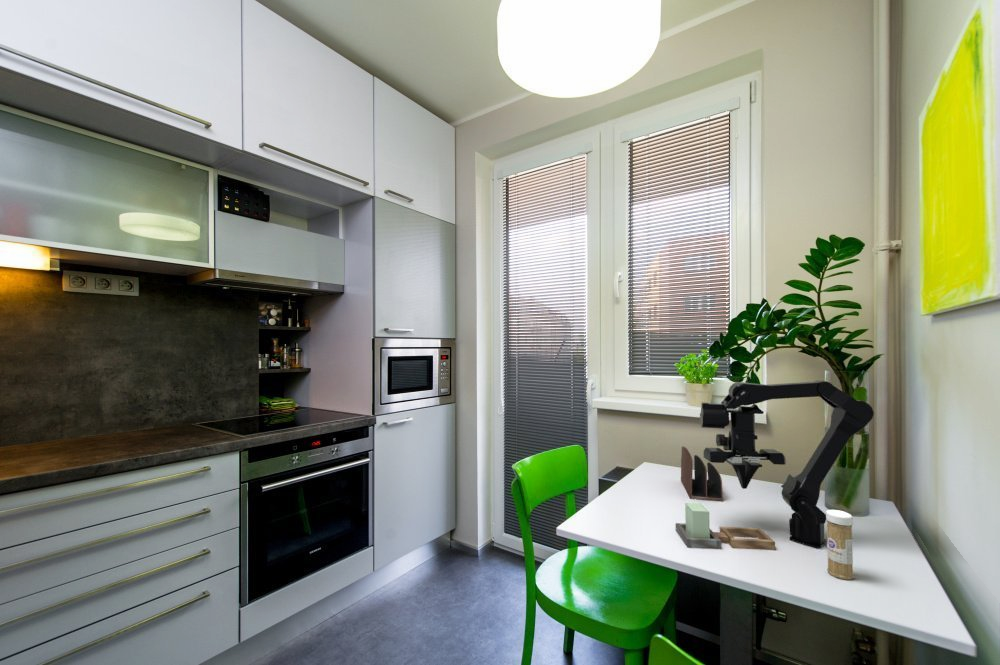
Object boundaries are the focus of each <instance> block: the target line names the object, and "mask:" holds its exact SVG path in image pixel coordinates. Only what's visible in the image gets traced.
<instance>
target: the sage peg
mask: <svg viewBox="0 0 1000 665" xmlns="http://www.w3.org/2000/svg"><path fill="white" fill-rule="evenodd" d="M684 503H685V510H684V511H685V514H684V515H685V516H684V517H685V518H684V519H685V524H686V533H687V534H688V536H689V537H690V538H706V539H710V529H711V526H710V520H711V519H710V510H708V509H707V507H705V505H703V504H702V502H684Z"/></svg>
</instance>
